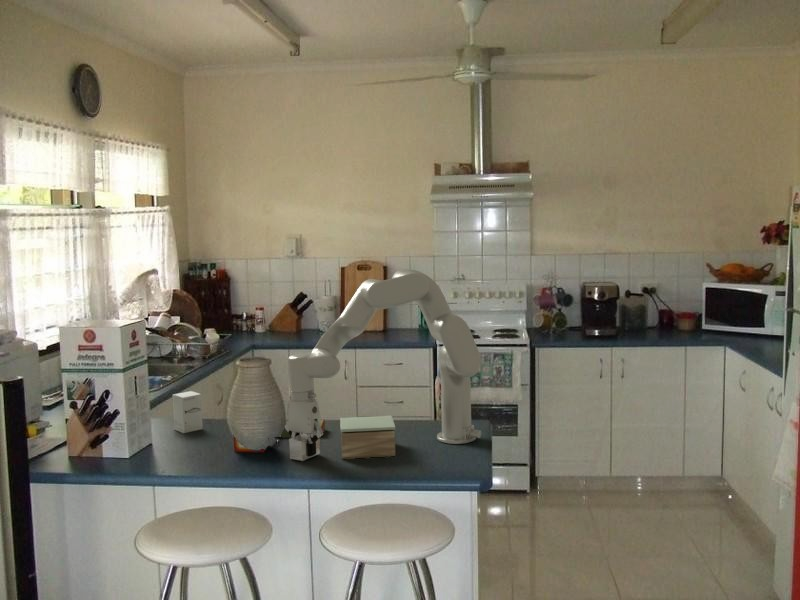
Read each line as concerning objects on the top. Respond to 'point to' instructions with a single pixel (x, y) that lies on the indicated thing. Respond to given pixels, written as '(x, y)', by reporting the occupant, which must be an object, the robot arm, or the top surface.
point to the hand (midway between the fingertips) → (305, 453)
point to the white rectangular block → (301, 447)
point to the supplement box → (187, 411)
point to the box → (368, 444)
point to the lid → (367, 423)
